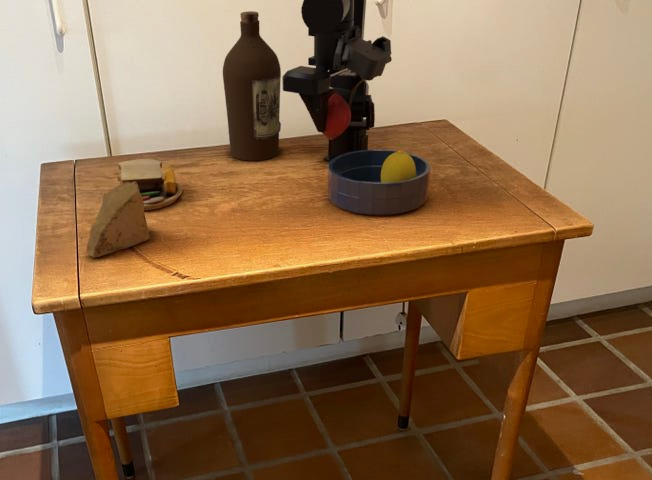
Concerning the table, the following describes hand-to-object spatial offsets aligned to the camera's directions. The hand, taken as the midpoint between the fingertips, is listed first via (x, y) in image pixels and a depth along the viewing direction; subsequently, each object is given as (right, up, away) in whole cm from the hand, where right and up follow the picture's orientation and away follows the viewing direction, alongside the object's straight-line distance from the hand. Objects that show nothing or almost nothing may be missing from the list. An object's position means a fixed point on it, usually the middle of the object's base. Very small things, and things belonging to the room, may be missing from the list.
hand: (331, 126), depth 116 cm
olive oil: (-12, +3, +27) cm, 30 cm away
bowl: (+8, -10, +6) cm, 14 cm away
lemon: (+11, -11, +4) cm, 16 cm away
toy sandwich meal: (-31, -9, +10) cm, 34 cm away
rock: (-32, -20, -6) cm, 38 cm away
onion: (0, -2, +1) cm, 2 cm away
